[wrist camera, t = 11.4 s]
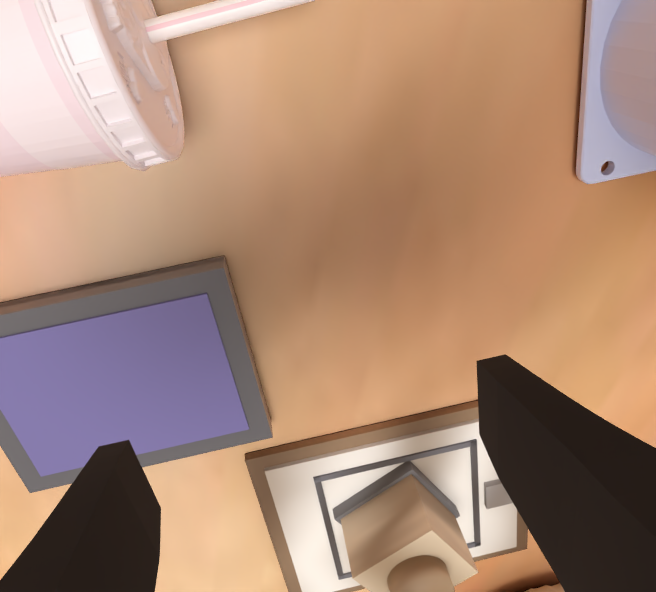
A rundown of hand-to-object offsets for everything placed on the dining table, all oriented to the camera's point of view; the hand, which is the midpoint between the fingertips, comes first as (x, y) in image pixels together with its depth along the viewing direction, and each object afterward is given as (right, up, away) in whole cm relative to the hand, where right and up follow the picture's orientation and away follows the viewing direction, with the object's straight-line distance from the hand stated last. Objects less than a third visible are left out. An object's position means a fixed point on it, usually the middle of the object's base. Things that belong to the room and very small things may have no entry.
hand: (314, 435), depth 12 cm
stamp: (+4, -7, +15) cm, 17 cm away
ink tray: (-8, 0, +10) cm, 13 cm away
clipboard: (+4, -7, +16) cm, 18 cm away
